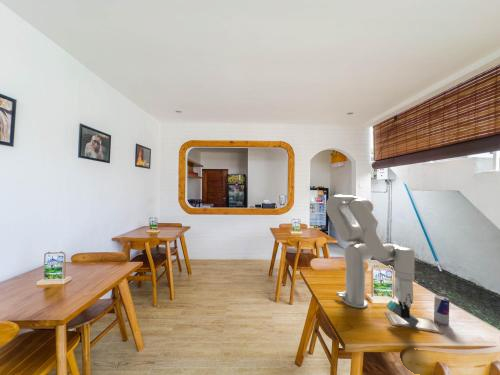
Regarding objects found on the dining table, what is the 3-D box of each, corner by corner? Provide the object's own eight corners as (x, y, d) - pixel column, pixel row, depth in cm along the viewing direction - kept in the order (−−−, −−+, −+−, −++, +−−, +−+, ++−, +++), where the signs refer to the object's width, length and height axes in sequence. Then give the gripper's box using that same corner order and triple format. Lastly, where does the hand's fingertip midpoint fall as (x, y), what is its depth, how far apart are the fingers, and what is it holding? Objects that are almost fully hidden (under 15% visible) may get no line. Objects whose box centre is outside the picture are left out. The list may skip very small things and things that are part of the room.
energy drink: (448, 328, 104) (449, 301, 104) (433, 323, 108) (434, 297, 108) (448, 323, 108) (449, 297, 108) (434, 318, 112) (435, 294, 112)
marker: (414, 327, 103) (388, 309, 106) (411, 323, 106) (386, 305, 109) (419, 320, 103) (393, 302, 105) (416, 316, 106) (391, 299, 109)
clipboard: (391, 325, 105) (391, 322, 105) (384, 312, 116) (384, 310, 116) (444, 334, 100) (444, 331, 100) (431, 320, 110) (431, 317, 110)
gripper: (389, 268, 115) (389, 305, 115) (401, 280, 99) (400, 323, 99) (406, 270, 113) (406, 308, 113) (421, 282, 97) (421, 326, 97)
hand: (403, 315), depth 106 cm, fingers closed on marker, 3 cm apart
